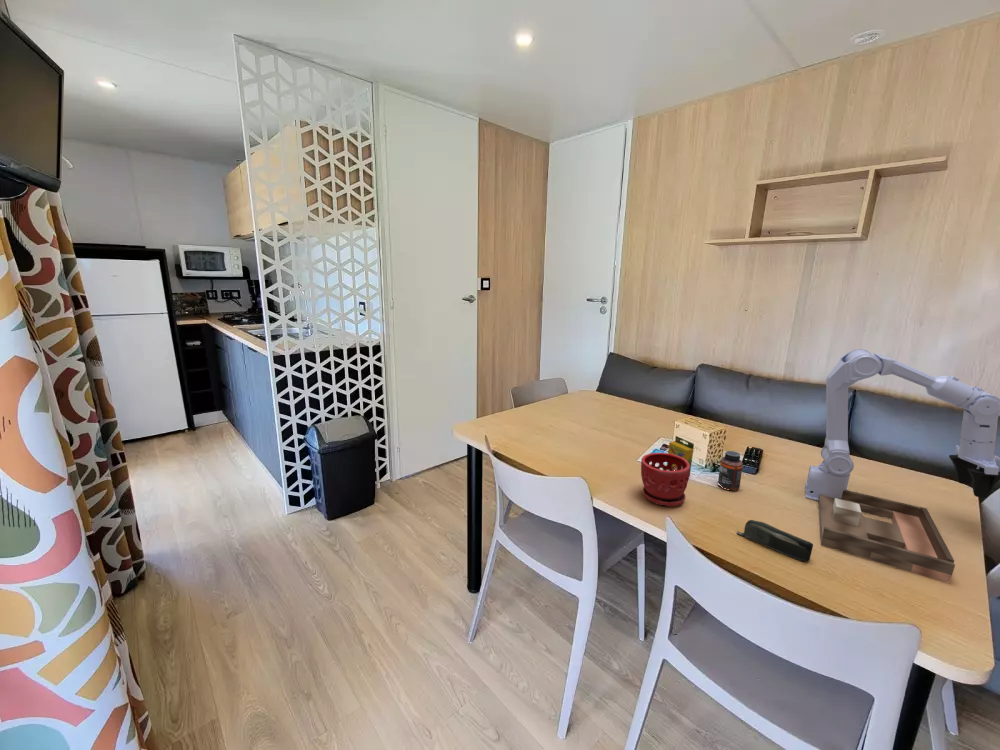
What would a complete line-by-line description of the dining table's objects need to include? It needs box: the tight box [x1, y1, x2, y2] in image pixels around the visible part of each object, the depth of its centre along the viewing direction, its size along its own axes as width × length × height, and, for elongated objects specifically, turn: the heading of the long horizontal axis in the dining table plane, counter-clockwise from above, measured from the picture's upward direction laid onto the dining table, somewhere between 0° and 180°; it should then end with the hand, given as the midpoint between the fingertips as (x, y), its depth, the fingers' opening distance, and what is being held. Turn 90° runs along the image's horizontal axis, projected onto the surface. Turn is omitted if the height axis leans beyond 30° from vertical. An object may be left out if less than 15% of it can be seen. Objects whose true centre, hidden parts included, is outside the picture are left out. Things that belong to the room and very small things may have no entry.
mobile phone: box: [736, 519, 814, 562], centre depth 100 cm, size 5×3×15 cm
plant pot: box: [640, 452, 691, 507], centre depth 120 cm, size 13×13×12 cm
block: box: [832, 498, 861, 527], centre depth 108 cm, size 5×5×4 cm
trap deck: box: [817, 489, 956, 584], centre depth 105 cm, size 22×27×5 cm
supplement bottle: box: [717, 450, 743, 491], centre depth 127 cm, size 6×6×11 cm
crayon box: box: [666, 435, 695, 472], centre depth 136 cm, size 7×3×12 cm, turn 27°
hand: (972, 489), depth 106 cm, fingers open, 7 cm apart
